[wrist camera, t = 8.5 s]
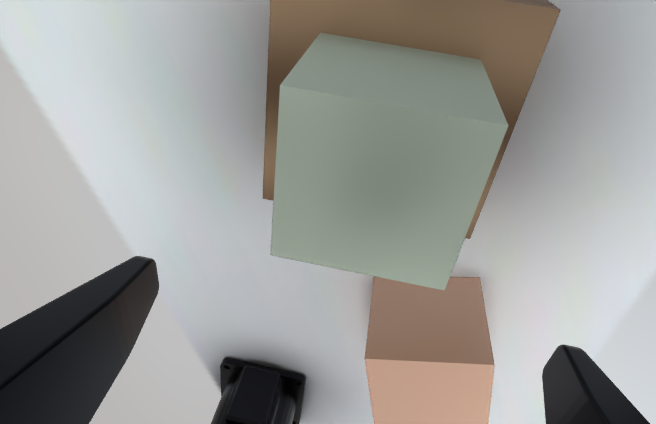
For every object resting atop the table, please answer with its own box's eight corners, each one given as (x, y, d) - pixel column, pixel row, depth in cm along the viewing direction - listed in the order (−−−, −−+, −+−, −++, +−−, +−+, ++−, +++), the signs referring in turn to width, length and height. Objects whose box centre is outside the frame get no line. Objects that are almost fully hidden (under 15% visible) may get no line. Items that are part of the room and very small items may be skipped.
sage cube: (437, 195, 20) (444, 290, 15) (305, 170, 20) (270, 255, 15) (480, 59, 16) (508, 125, 11) (320, 32, 17) (279, 85, 12)
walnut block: (465, 209, 23) (469, 238, 21) (276, 173, 23) (262, 198, 21) (543, -3, 17) (560, 9, 15) (288, -43, 18) (271, -36, 16)
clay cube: (475, 345, 28) (487, 436, 24) (381, 342, 30) (374, 427, 25) (479, 276, 25) (494, 365, 20) (374, 275, 26) (364, 358, 22)
